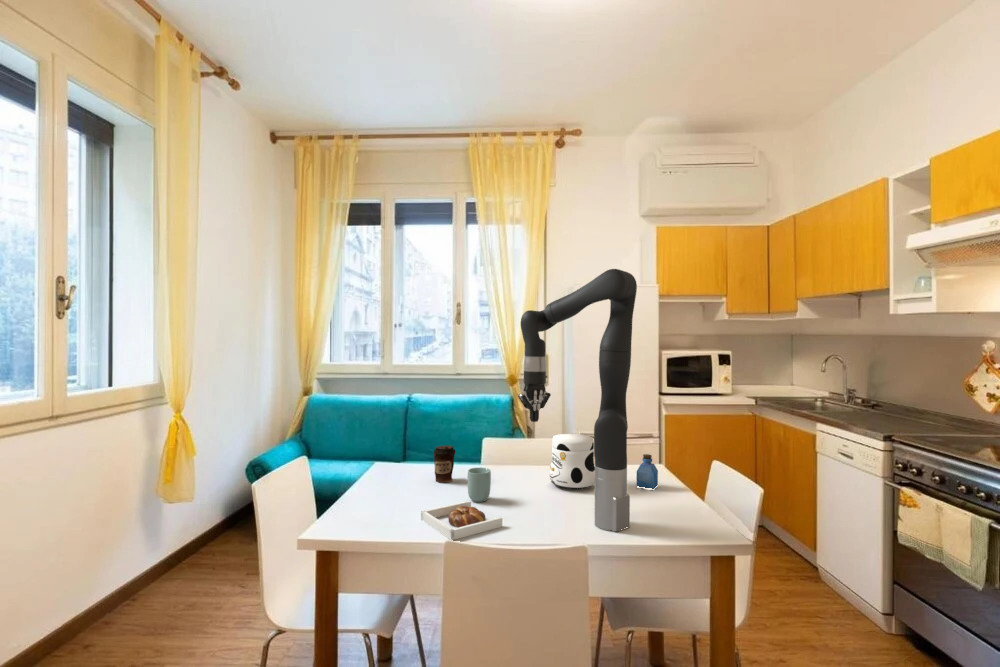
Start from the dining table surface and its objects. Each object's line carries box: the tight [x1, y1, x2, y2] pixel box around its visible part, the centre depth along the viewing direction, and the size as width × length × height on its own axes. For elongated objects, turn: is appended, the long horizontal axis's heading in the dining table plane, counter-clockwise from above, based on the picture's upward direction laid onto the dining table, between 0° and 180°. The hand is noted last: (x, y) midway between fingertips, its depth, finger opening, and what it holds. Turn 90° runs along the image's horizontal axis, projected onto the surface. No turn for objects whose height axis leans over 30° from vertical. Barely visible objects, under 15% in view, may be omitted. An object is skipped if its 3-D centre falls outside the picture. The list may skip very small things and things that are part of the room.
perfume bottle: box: [636, 453, 659, 489], centre depth 175 cm, size 6×6×12 cm
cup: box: [467, 467, 492, 503], centre depth 158 cm, size 8×8×10 cm
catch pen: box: [420, 500, 503, 541], centre depth 138 cm, size 18×17×2 cm
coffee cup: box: [433, 445, 456, 483], centre depth 180 cm, size 9×8×13 cm
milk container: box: [548, 433, 595, 491], centre depth 176 cm, size 17×17×18 cm
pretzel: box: [447, 506, 486, 528], centre depth 139 cm, size 12×11×4 cm
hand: (534, 421), depth 157 cm, fingers closed
